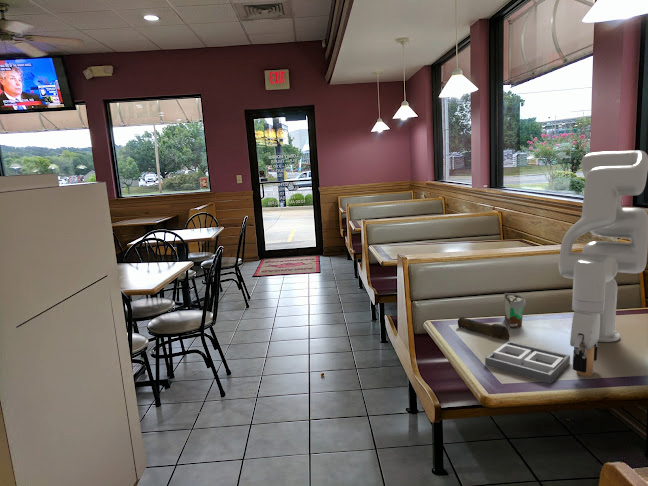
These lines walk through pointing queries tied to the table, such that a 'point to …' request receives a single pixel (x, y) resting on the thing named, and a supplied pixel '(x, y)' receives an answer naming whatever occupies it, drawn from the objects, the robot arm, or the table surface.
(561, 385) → the table surface
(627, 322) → the table surface
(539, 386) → the table surface
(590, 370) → the rounded peg
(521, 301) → the food container
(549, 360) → the tray
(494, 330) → the hand tool
